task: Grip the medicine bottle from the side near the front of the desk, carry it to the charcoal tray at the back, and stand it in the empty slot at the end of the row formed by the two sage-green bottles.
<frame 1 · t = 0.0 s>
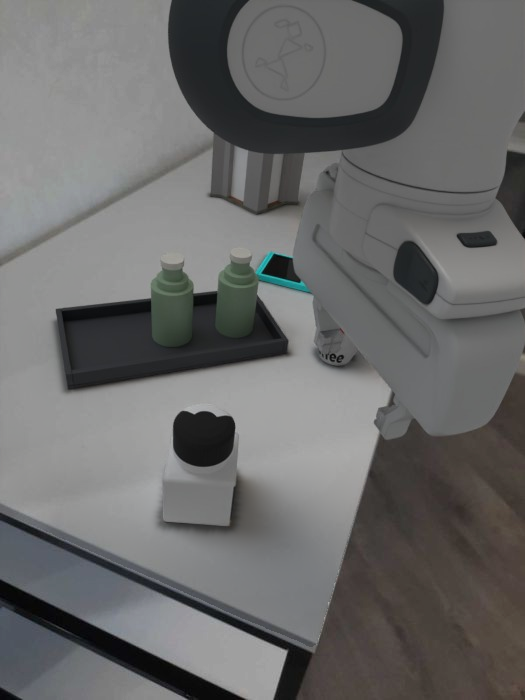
hand: (354, 386, 39), 23 cm above the table, tool pointing down, fingers open, 8 cm apart
far bottle: (234, 326, 82), resting on tray
near bottle: (172, 335, 79), resting on tray
handheld game console: (301, 278, 98), on the table
tray: (172, 337, 79), on the table
desk lamp: (369, 200, 134), on the table
cabinet: (254, 206, 123), on the table
medicine bottle: (200, 497, 57), on the table
cup: (334, 356, 80), on the table
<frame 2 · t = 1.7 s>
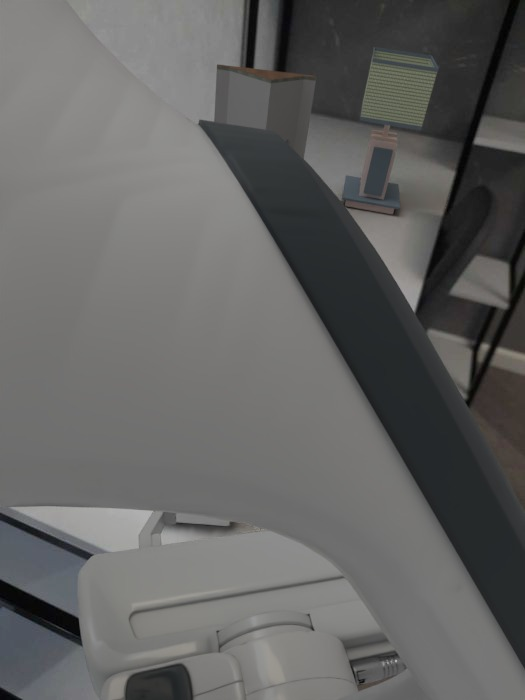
hand: (229, 488, 38), 17 cm above the table, tool horizontal, fingers open, 8 cm apart
nothing on the table moved.
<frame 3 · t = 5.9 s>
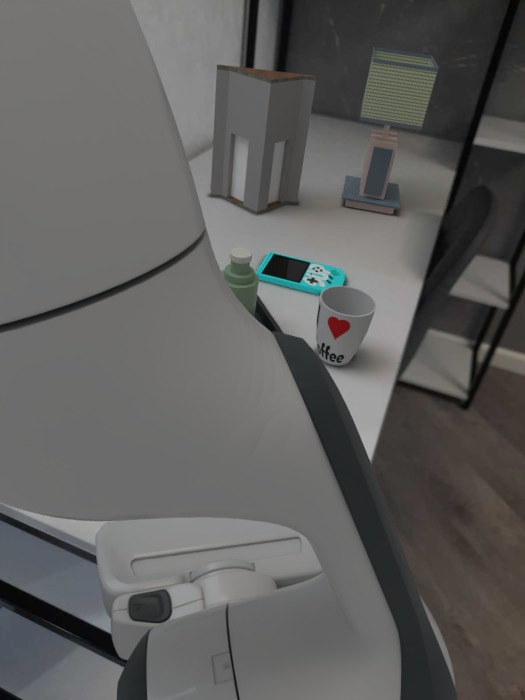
hand: (204, 478, 51), 6 cm above the table, tool horizontal, fingers open, 8 cm apart
medicine bottle: (200, 497, 57), on the table, touching gripper
everything else where it was.
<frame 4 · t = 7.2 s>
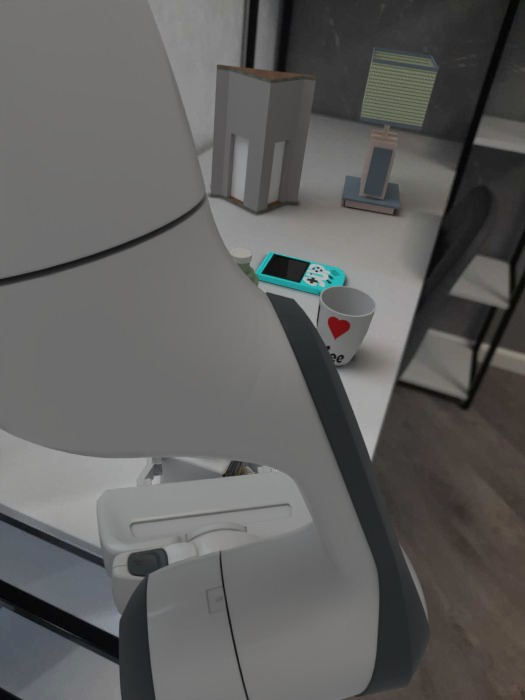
hand: (200, 451, 54), 6 cm above the table, tool horizontal, fingers closed on medicine bottle, 8 cm apart
medicine bottle: (202, 481, 59), on the table, touching gripper
everything else where it was.
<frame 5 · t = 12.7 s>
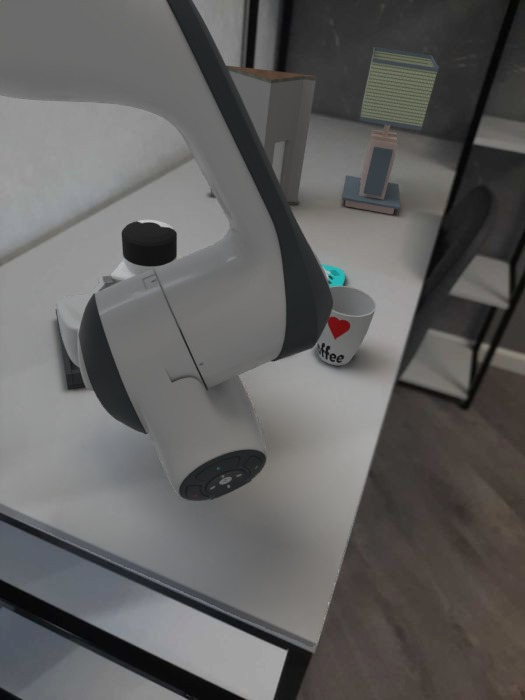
hand: (146, 277, 60), 17 cm above the table, tool horizontal, fingers closed on medicine bottle, 8 cm apart
medicine bottle: (151, 317, 65), point 10 cm above the table, touching gripper
everything else where it was.
when the fingers open (8 cm above the table, at t = 19.0 s): medicine bottle stays where it is, resting on tray.
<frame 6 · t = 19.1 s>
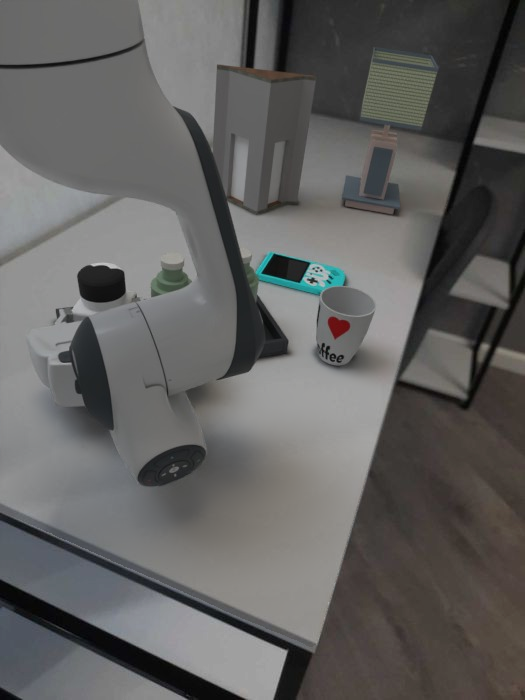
hand: (102, 307, 70), 8 cm above the table, tool horizontal, fingers open, 8 cm apart
medicine bottle: (109, 343, 76), resting on tray, touching gripper
everything else where it was.
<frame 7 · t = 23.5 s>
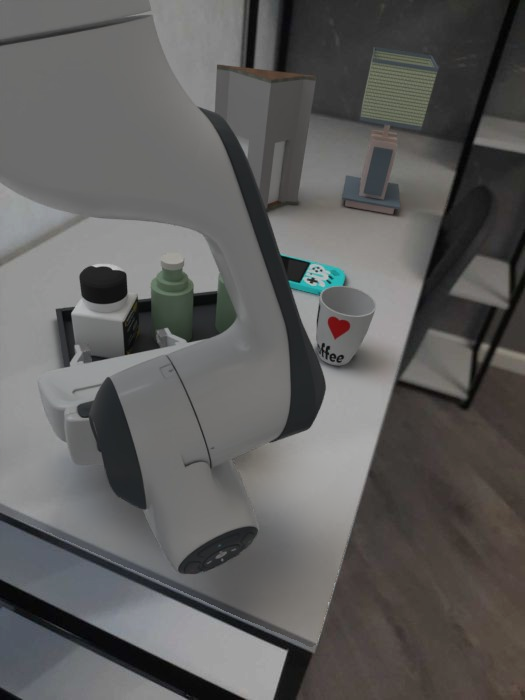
hand: (122, 340, 61), 10 cm above the table, tool horizontal, fingers open, 8 cm apart
medicine bottle: (109, 344, 76), resting on tray
everything else where it was.
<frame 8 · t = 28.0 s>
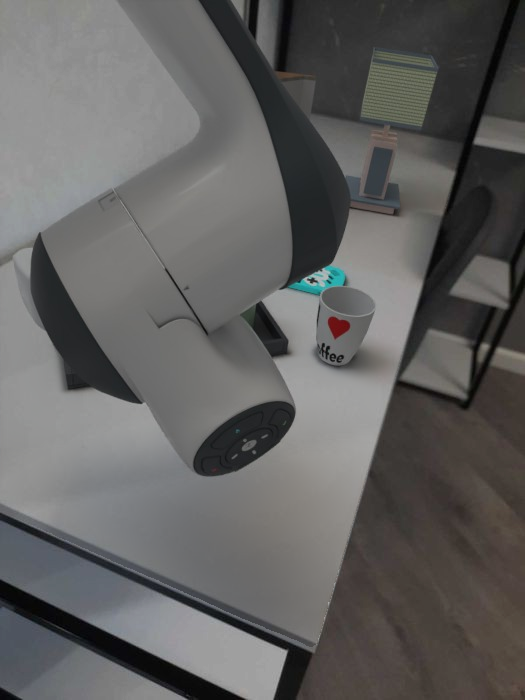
hand: (119, 230, 51), 25 cm above the table, tool horizontal, fingers open, 8 cm apart
nothing on the table moved.
at the end: medicine bottle 0.7 cm from the target spot on the table beside the far bottle, resting on tray; medicine bottle tilted 0°; the gripper is holding nothing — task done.
